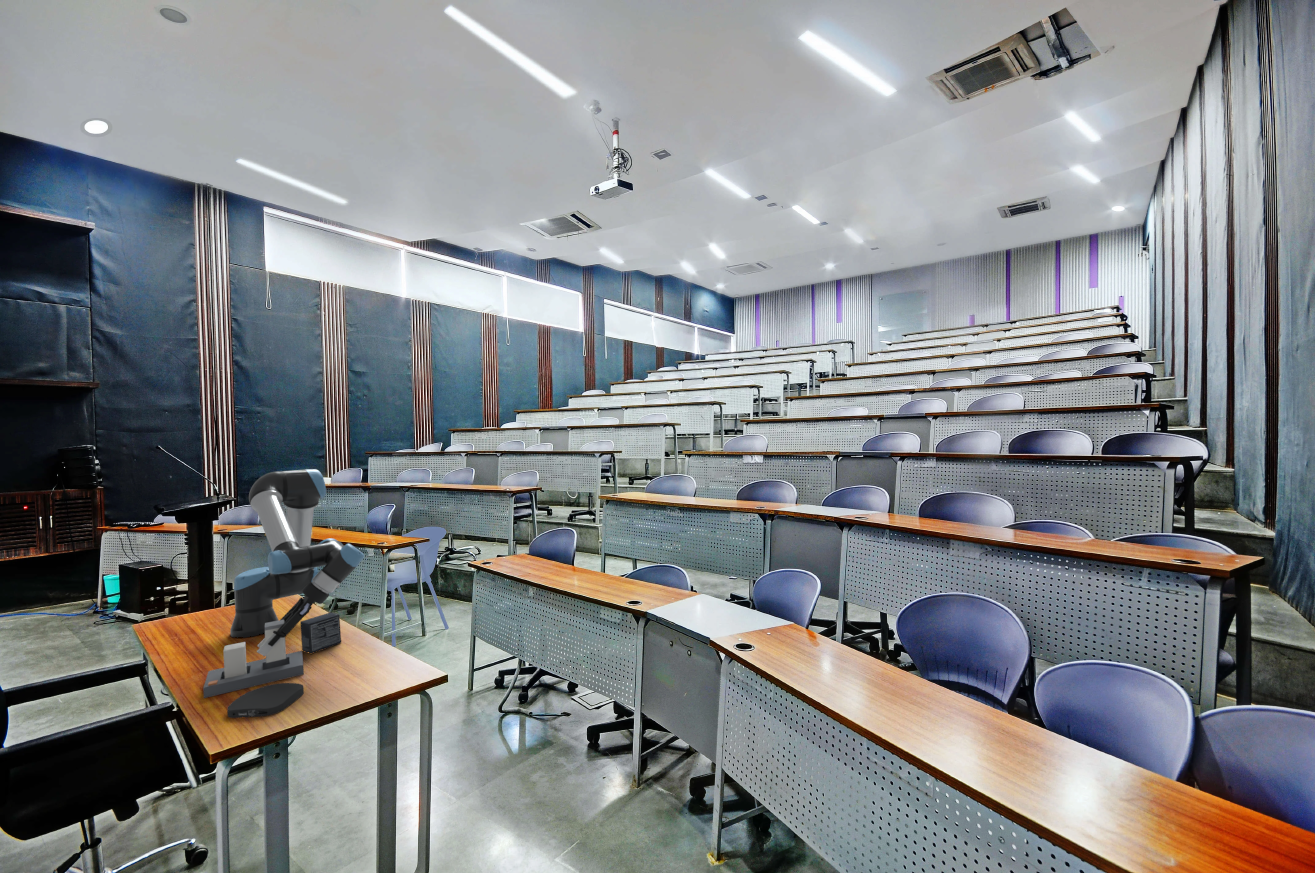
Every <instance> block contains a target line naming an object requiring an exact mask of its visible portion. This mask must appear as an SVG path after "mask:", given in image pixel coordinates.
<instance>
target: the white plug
mask: <svg viewBox="0 0 1315 873" xmlns="http://www.w3.org/2000/svg"><path fill="white" fill-rule="evenodd" d="M278 620H279V621H273V622H268V623H265V633H264V638H265V642H266V641H267V640H268V639H269V638H270V637H271V636H272V635H273V634H274V633H273V631H278V629H279V628H280V627H281V626H282V625H283V624H284V620H281V619H278ZM286 650H287V649H286V637H285V638H282V639H281V640H280V641H279V642H278V643H277V644H276V645H275V646H274V647H273V648H272V649H271V650H270V651H269V652H268V654H267V655H266V656H265V659H266V663H269V662H273V661H278V660H282V659H286V654H287V651H286Z"/></svg>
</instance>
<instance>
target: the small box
mask: <svg viewBox="0 0 1315 873" xmlns="http://www.w3.org/2000/svg"><path fill="white" fill-rule="evenodd" d="M340 621H341V620H340V613H335V612H327V613H324V614H320V615H318V616H313V617H311V618H308V619H304V620H300V621H299V623H300V624H299V625H300V632H301V633H300V637H301V638H300V640H301V651H302V650H303V651H302V652H304V651H305V653H307V652H309V653H308V654H310V653H312V654H314V653H317V652H320V651H322V649H323V650H325V648H326V649H327V648H331V647H334V646H337V645H339V644H342V636H341V633H342V632H341V622H340ZM319 650H320V651H319ZM316 651H317V652H316ZM313 652H314V653H313Z"/></svg>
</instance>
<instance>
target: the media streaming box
mask: <svg viewBox="0 0 1315 873" xmlns="http://www.w3.org/2000/svg"><path fill="white" fill-rule="evenodd" d="M304 693H305V688H304V685H303V684H301V683H297V682H281V683H273V684H267V685H264V686H261V687H258V688H254V689H252V690H249V691H247V692H245V693H244V694H241V695H240V696H239V697H237V698H236V699H235V700H233V701H232V702H231V703H230V704H229V705H228V706H227V709H226V710H227V718H230V719H241V718H242V717H245V718H257V717H258V718H259V717H260V718H261V717H267V716H268V717H269V716H271V715H276V714H278V713H281V712H283V711H284V710H286V709H287V708H288V707H290V706H291V705H293V703H295V702H296V701H297V700H298V699H300V698H301V697H302V696H303V695H304Z"/></svg>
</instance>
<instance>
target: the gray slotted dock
mask: <svg viewBox="0 0 1315 873" xmlns="http://www.w3.org/2000/svg"><path fill="white" fill-rule="evenodd" d="M246 646H247V645H246V641H243V642H238V643H232V644H228V645H224V648H223V667H220V668H217V669H211V670H208V671H207V675H206V679H205V682H204V684H203V687H202V688H203V699H206V698H210V697H215V696H218V695H222V694H227V693H231V692H236V691H239V690H244V689H248V688H251V687H252V688H253V687H257V686H259V685H265V684H268V683H274V682H277V681H281V680H285V679H290V678H294V677H298V676H303V675H304V674H305V671H304V659H303V651H302V650H299V651H294V652H290V653H286V659H282V660H278V661H273V662H269V663H266V658H263V659H262V658H261V659H257V660H254V661H248V662H247V650H246V648H247V647H246Z"/></svg>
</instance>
